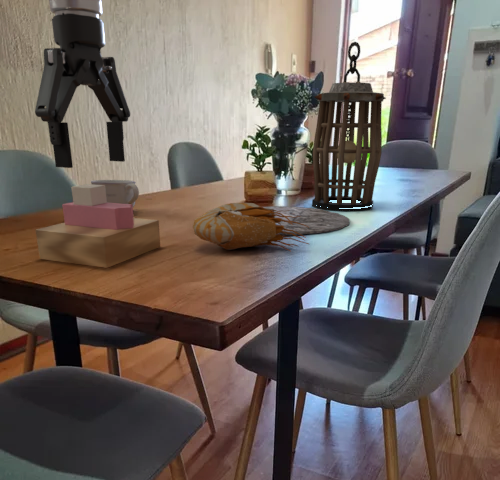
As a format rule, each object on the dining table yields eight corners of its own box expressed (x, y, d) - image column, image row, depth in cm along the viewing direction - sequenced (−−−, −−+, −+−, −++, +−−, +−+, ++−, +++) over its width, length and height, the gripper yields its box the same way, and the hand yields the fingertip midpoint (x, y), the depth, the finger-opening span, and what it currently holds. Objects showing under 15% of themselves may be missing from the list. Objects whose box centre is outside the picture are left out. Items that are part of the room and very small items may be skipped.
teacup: (86, 212, 130) (82, 179, 127) (124, 207, 137) (121, 176, 134) (113, 219, 120) (110, 184, 117) (152, 214, 127) (150, 181, 124)
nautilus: (316, 247, 98) (293, 270, 85) (216, 231, 105) (180, 250, 92) (321, 206, 94) (297, 224, 82) (216, 192, 101) (179, 207, 89)
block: (39, 258, 87) (35, 229, 85) (99, 240, 100) (96, 214, 98) (107, 268, 82) (103, 237, 80) (160, 246, 95) (158, 220, 93)
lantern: (387, 205, 144) (405, 43, 128) (363, 215, 129) (379, 33, 113) (324, 199, 153) (334, 48, 138) (295, 207, 138) (302, 39, 122)
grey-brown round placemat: (368, 214, 128) (368, 213, 128) (317, 241, 100) (317, 239, 100) (251, 204, 143) (251, 202, 142) (178, 224, 114) (178, 223, 114)
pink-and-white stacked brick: (64, 224, 89) (59, 186, 86) (83, 219, 93) (79, 183, 91) (124, 230, 84) (120, 190, 82) (141, 225, 89) (138, 187, 86)
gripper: (35, -2, 65) (57, 171, 73) (145, 28, 86) (152, 159, 95) (-9, 2, 68) (17, 169, 76) (108, 30, 89) (119, 158, 97)
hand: (92, 164), depth 85 cm, fingers open, 13 cm apart
